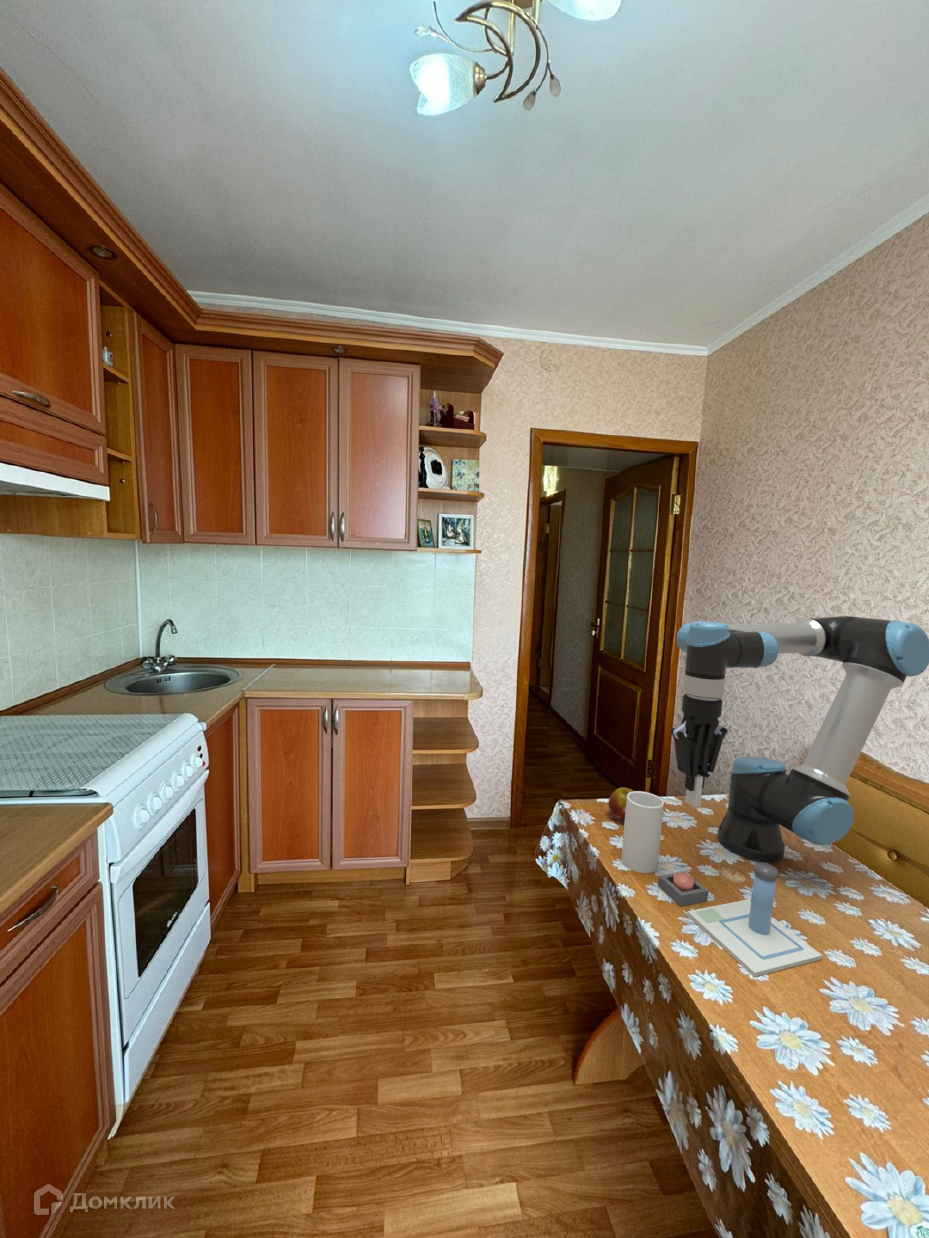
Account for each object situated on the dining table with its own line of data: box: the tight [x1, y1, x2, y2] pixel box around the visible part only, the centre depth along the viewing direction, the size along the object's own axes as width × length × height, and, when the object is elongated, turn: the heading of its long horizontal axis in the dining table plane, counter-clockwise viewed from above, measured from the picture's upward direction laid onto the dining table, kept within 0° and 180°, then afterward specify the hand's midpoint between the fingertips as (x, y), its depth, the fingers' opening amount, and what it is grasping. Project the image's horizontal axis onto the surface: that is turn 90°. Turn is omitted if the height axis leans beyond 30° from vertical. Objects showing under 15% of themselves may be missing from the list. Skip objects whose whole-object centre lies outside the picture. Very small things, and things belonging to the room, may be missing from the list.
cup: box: [620, 790, 665, 874], centre depth 119 cm, size 8×8×16 cm
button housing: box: [657, 870, 709, 907], centre depth 109 cm, size 7×7×2 cm
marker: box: [748, 861, 779, 935], centre depth 97 cm, size 4×4×12 cm
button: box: [673, 871, 694, 892], centre depth 108 cm, size 4×4×2 cm
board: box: [686, 899, 823, 978], centre depth 97 cm, size 16×16×1 cm
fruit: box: [608, 787, 635, 822], centre depth 141 cm, size 10×9×8 cm
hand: (692, 803), depth 107 cm, fingers closed
